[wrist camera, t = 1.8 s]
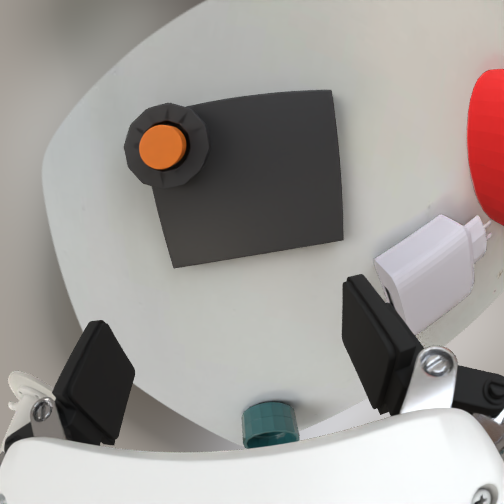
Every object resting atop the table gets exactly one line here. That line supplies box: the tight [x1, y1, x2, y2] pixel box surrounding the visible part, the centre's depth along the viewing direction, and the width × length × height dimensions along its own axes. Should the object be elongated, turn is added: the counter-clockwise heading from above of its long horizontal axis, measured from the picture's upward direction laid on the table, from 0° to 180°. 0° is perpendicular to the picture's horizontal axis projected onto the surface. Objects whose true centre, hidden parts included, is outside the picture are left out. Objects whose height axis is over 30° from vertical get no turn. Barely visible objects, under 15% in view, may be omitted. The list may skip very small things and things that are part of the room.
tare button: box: [139, 125, 186, 169], centre depth 16 cm, size 3×3×2 cm
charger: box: [373, 214, 492, 336], centre depth 23 cm, size 5×9×15 cm
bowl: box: [242, 402, 299, 449], centre depth 31 cm, size 7×7×5 cm
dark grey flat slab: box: [124, 90, 343, 268], centre depth 19 cm, size 15×12×3 cm
